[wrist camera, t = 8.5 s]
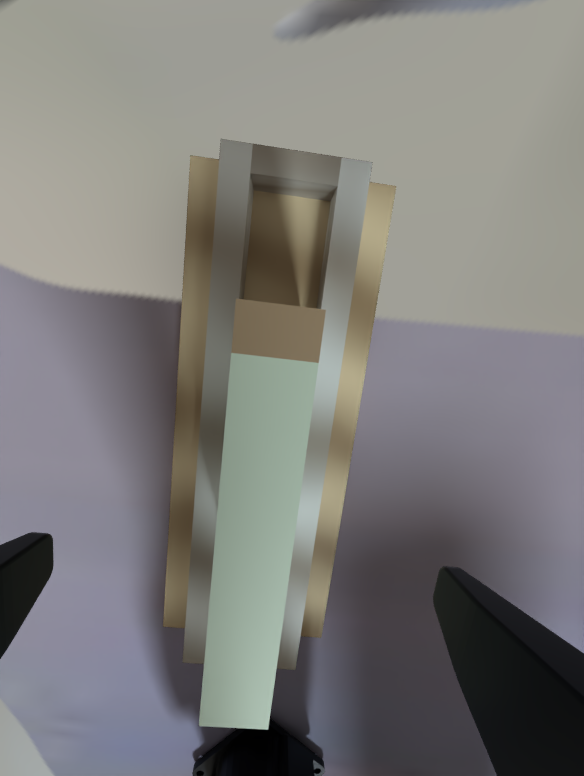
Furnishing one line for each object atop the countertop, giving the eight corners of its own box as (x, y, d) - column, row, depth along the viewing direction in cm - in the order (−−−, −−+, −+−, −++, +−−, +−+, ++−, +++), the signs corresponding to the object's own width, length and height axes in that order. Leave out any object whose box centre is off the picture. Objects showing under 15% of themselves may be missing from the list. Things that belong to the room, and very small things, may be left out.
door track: (318, 615, 22) (325, 671, 19) (171, 605, 22) (150, 660, 18) (386, 196, 17) (412, 168, 14) (198, 168, 17) (177, 132, 13)
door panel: (272, 538, 19) (267, 729, 10) (235, 534, 19) (198, 726, 10) (300, 310, 17) (326, 309, 8) (258, 305, 17) (235, 298, 8)
